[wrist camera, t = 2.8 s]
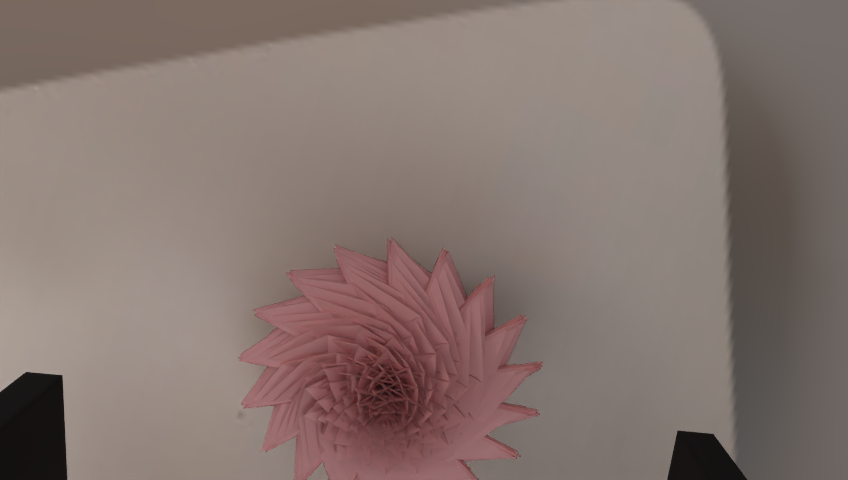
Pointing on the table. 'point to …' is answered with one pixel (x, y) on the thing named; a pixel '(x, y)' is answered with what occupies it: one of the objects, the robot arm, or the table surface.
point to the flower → (388, 370)
